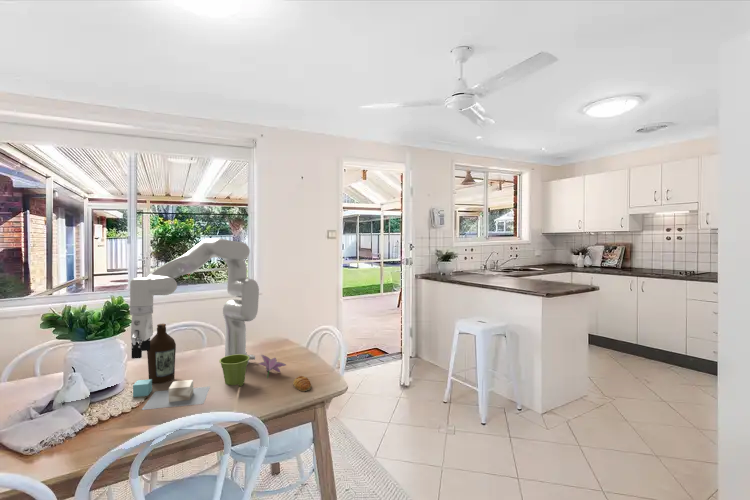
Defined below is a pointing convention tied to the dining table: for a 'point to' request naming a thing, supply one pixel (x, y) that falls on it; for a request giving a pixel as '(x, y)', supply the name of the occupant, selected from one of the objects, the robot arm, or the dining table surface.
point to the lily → (271, 364)
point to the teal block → (142, 388)
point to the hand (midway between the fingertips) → (141, 354)
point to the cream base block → (180, 390)
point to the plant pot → (234, 368)
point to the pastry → (302, 383)
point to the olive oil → (161, 356)
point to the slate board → (162, 401)
